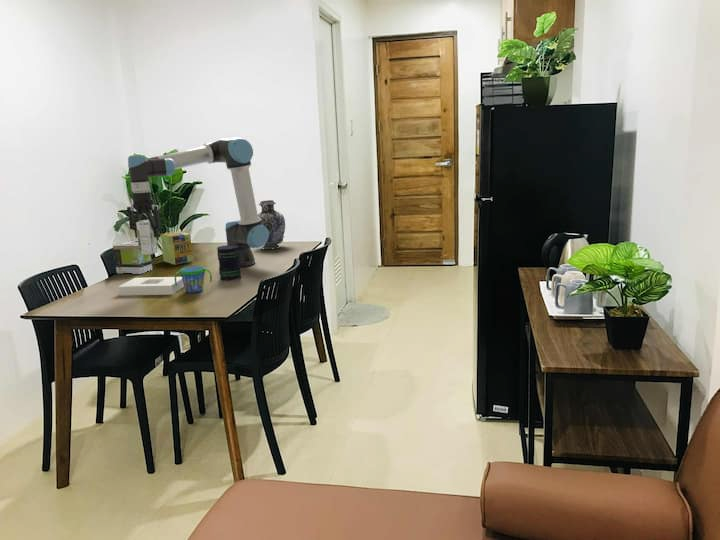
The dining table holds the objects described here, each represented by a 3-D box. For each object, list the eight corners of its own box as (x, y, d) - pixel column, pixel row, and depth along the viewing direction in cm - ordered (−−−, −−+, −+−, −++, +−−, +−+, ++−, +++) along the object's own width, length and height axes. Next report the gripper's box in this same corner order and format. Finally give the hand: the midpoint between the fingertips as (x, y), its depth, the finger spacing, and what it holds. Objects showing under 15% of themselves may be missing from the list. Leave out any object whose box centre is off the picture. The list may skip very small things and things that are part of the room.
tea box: (153, 270, 307) (149, 242, 304) (140, 274, 298) (136, 245, 295) (129, 269, 312) (125, 241, 309) (116, 273, 303) (112, 245, 300)
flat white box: (186, 285, 272) (185, 276, 271) (172, 294, 257) (171, 285, 256) (136, 286, 275) (134, 277, 274) (119, 295, 259) (118, 286, 258)
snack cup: (213, 286, 268) (210, 264, 265) (212, 292, 258) (210, 269, 255) (176, 290, 264) (174, 267, 262) (175, 296, 254) (172, 272, 252)
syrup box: (144, 252, 265) (140, 220, 262) (158, 251, 265) (153, 219, 261) (139, 255, 259) (135, 222, 256) (153, 254, 259) (148, 221, 256)
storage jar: (233, 274, 289) (230, 244, 286) (245, 277, 282) (242, 246, 279) (215, 278, 282) (212, 247, 279) (227, 281, 275) (224, 249, 272)
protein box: (175, 265, 317) (172, 236, 314) (163, 261, 329) (160, 233, 325) (193, 261, 324) (190, 233, 320) (181, 258, 335) (178, 231, 332)
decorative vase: (284, 250, 342) (280, 202, 336) (252, 252, 342) (247, 204, 336) (289, 244, 363) (285, 198, 357) (259, 245, 363) (254, 200, 357)
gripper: (115, 193, 253) (123, 247, 259) (158, 192, 251) (165, 245, 257) (124, 191, 261) (131, 243, 266) (165, 190, 259) (172, 242, 264)
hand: (147, 244), depth 261 cm, fingers closed on syrup box, 6 cm apart
